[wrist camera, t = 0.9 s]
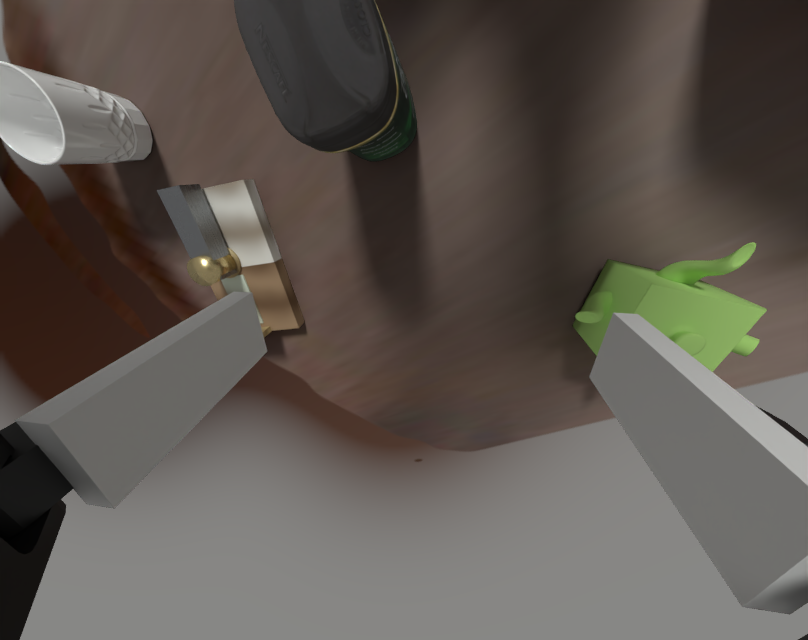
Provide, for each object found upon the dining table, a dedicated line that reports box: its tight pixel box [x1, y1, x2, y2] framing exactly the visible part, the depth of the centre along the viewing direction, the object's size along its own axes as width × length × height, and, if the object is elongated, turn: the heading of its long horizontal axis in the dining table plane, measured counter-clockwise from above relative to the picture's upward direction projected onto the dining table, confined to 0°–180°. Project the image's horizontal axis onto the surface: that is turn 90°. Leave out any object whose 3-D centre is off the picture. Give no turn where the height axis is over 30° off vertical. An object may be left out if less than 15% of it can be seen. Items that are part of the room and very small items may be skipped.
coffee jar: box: [234, 0, 417, 161], centre depth 23 cm, size 10×8×19 cm
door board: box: [201, 179, 305, 338], centre depth 39 cm, size 20×11×6 cm, turn 10°
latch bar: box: [157, 184, 237, 286], centre depth 36 cm, size 11×4×4 cm, turn 10°
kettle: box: [572, 243, 767, 372], centre depth 32 cm, size 15×14×11 cm
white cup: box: [0, 61, 153, 165], centre depth 31 cm, size 8×8×10 cm
